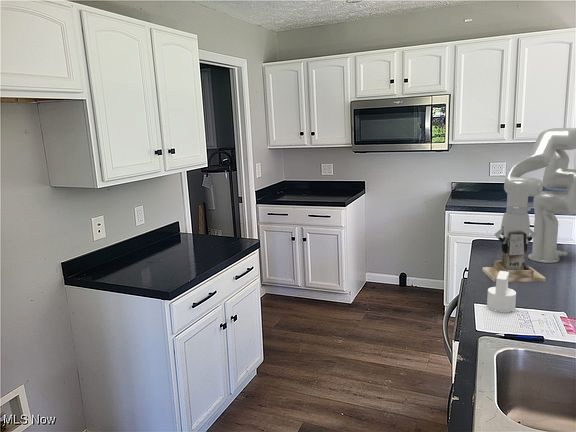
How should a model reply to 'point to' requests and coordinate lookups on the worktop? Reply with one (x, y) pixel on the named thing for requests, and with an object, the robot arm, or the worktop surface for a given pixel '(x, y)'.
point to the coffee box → (515, 252)
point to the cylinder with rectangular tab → (501, 294)
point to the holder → (514, 273)
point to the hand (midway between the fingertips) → (514, 252)
